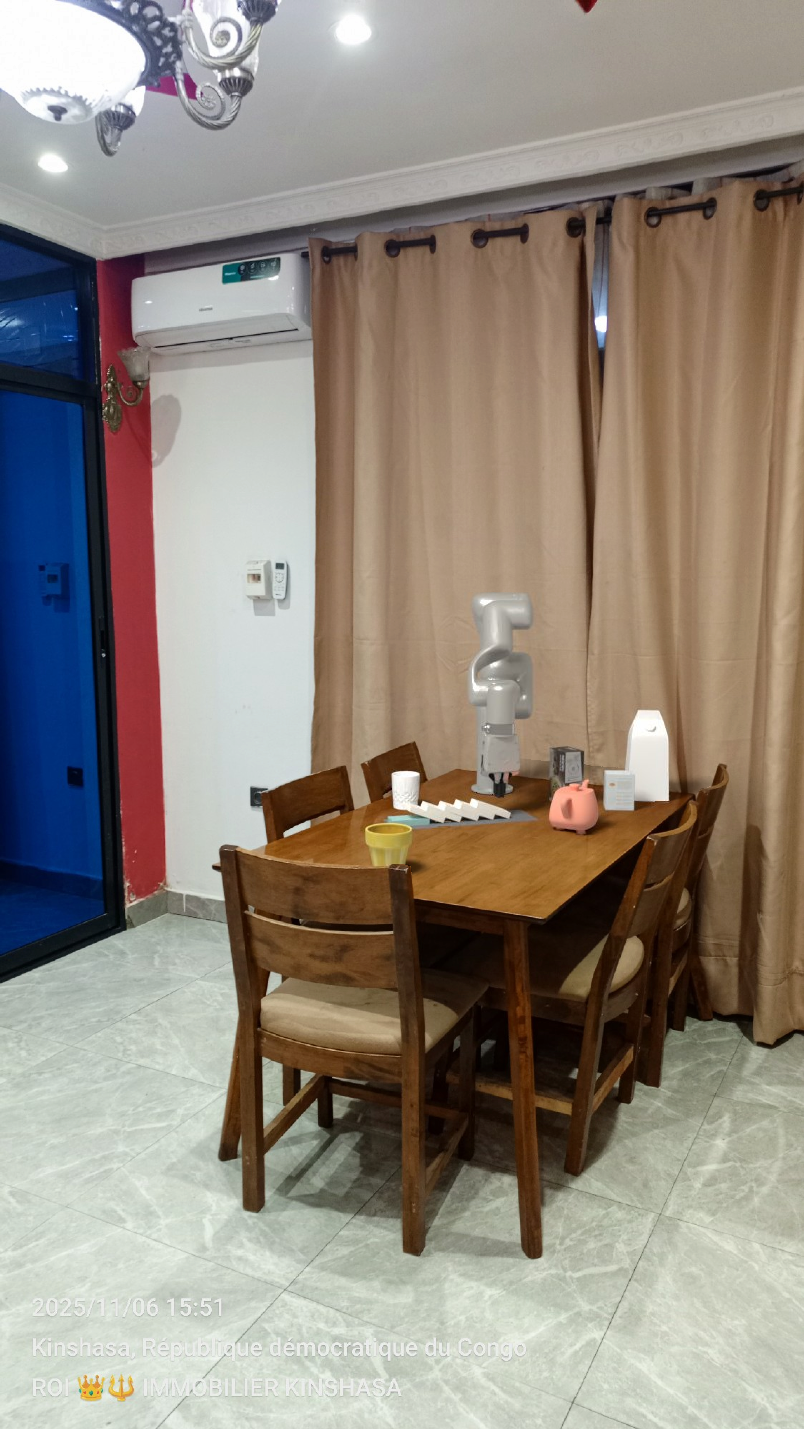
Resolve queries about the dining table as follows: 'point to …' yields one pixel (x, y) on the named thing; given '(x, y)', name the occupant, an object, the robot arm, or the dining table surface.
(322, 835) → the dining table surface
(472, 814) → the domino
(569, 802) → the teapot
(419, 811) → the domino
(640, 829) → the dining table surface
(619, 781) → the small box
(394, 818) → the domino
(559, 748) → the coffee box
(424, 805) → the domino
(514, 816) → the mat
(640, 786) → the milk
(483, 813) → the domino
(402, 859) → the plant pot
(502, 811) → the domino
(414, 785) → the white cup
